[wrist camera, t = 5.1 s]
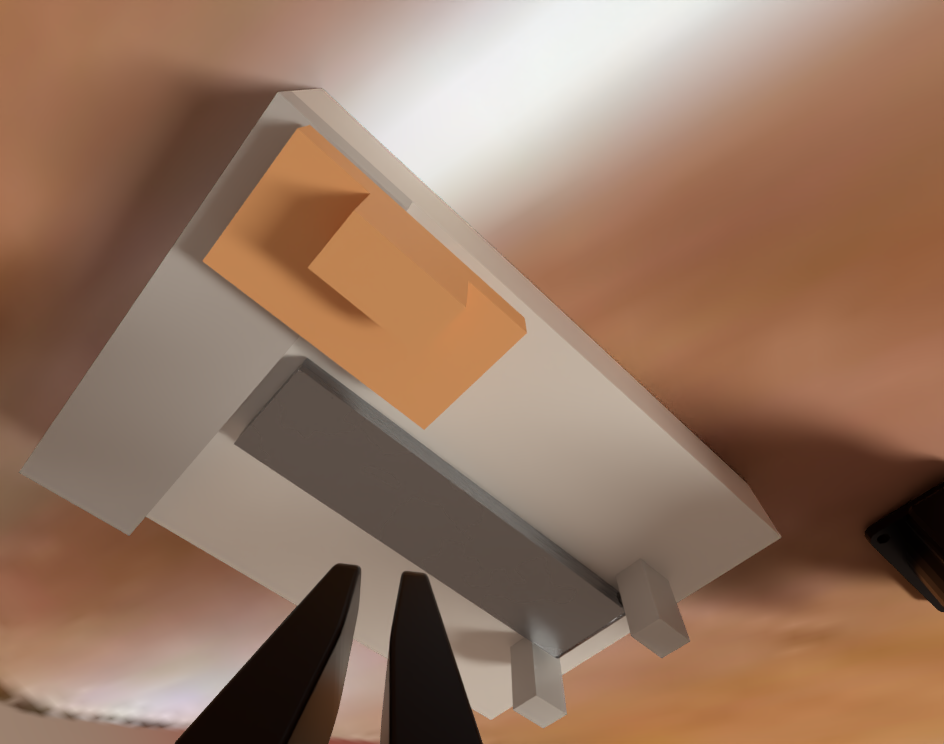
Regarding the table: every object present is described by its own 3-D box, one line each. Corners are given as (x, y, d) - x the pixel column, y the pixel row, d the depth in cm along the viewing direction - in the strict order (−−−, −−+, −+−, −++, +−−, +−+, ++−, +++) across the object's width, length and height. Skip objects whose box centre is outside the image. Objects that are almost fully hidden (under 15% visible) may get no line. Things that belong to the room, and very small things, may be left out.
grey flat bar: (628, 598, 22) (633, 616, 21) (559, 644, 23) (561, 662, 22) (306, 357, 17) (299, 369, 17) (243, 429, 19) (233, 443, 18)
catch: (524, 318, 15) (532, 364, 13) (427, 411, 17) (417, 469, 14) (309, 124, 13) (269, 136, 11) (219, 250, 15) (164, 285, 12)
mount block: (747, 483, 23) (819, 596, 18) (490, 659, 28) (491, 784, 23) (322, 88, 17) (252, 93, 12) (94, 408, 22) (-21, 505, 17)
